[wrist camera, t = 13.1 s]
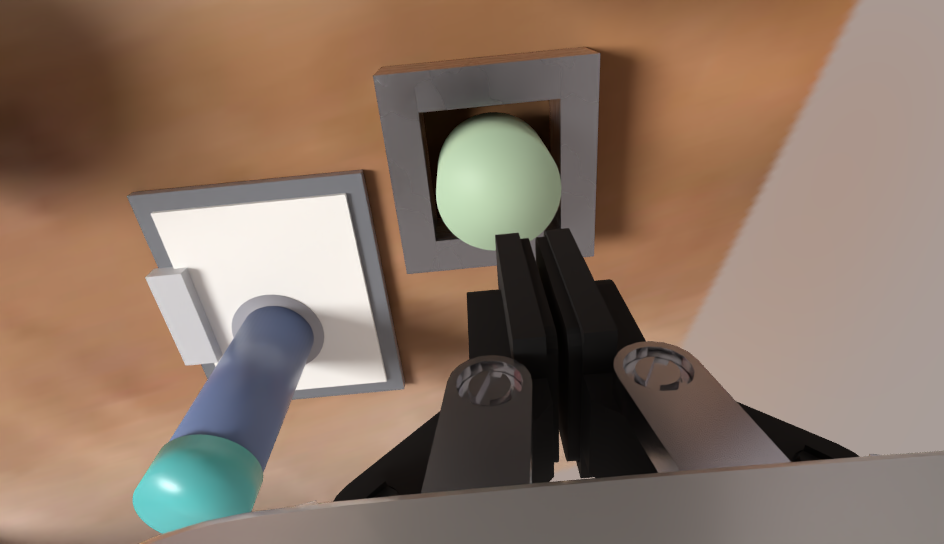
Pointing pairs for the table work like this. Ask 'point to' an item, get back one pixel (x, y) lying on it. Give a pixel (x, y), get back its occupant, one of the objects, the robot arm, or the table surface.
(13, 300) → the table surface
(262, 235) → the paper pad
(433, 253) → the button base
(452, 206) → the button
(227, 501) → the cylinder
